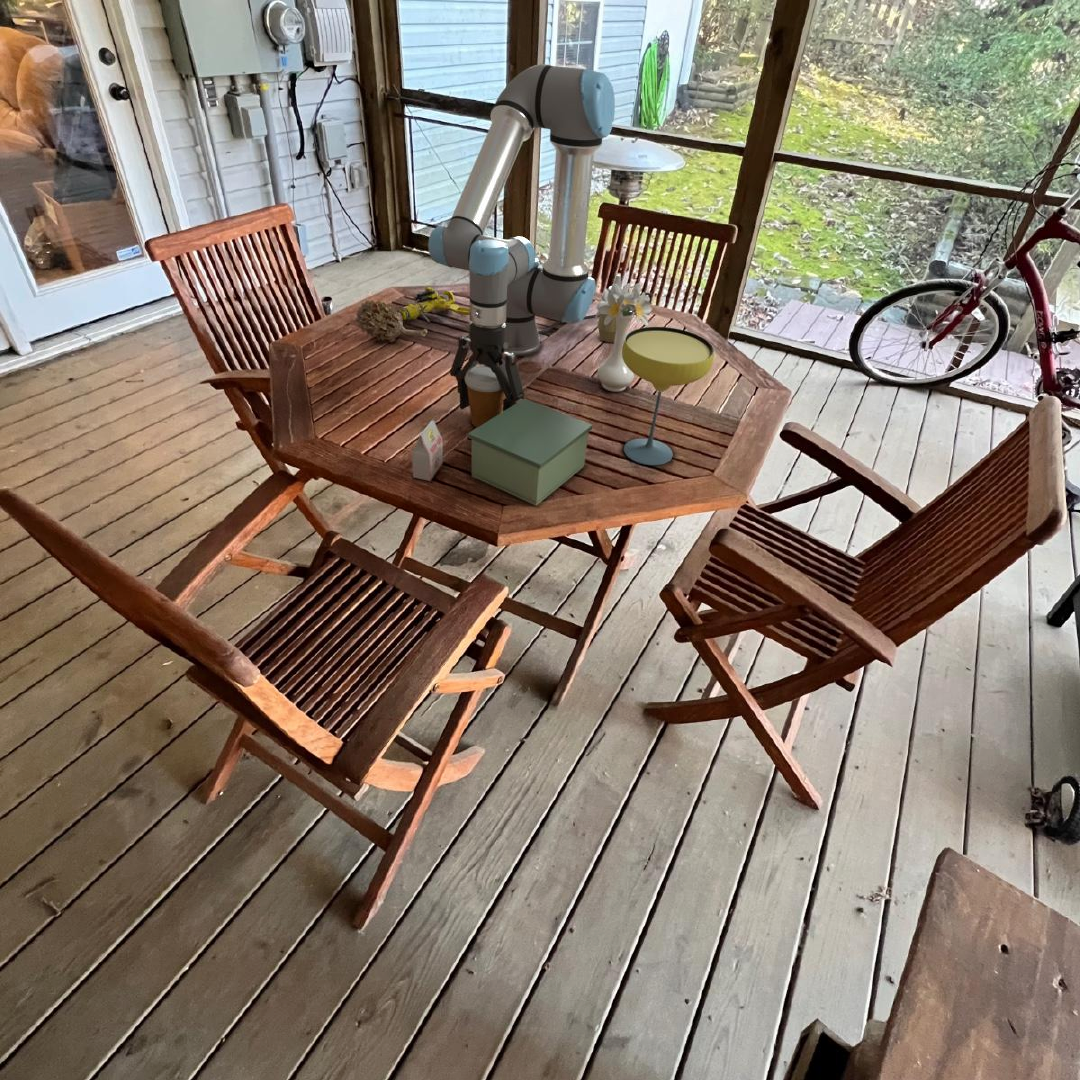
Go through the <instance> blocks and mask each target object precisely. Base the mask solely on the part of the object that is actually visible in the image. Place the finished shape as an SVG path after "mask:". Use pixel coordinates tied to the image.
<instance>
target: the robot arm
mask: <svg viewBox="0 0 1080 1080" xmlns="http://www.w3.org/2000/svg"><path fill="white" fill-rule="evenodd" d="M615 102H616V99H615V92H614V86H613V84H612V81H611V79H610V78H609V76H608V75H607V74H606V73H604V72H601V71H596V70H592V69H590V68H589V69H587V68H578V67H569V66H568V67H567V66H559V65H551V64H546V63H545V64H535V65H532V66H530V67H528V68H526V69H524V70H523V71H521V72H520V73H518V74H517V75H516V76H515V77H513V78H512V80H511V81H510V82H509V83H508V84H507V85H506V86H505V88H504V89H502V91H501V92H500V94H499V95H498V97H497V99H496V100H495V103H494V105H493V107H492V110H491V111H490V120H491V124H490V127H489V129H488V131H487V133H486V136H485V138H484V141H483V143H482V145H481V147H480V150H479V153H478V155H477V157H476V160H475V162H474V164H473V166H472V169H471V171H470V174H469V176H468V178H467V180H466V183H465V185H464V187H463V189H462V192H461V194H460V197H459V199H458V202H457V203H456V206H455V209H454V211H453V214H452V216H451V218H450V220H449V222H448V225H443V226H442V225H438V226H436V227H435V228H434V229H432V230H431V232H430V235H429V238H428V244H427V245H428V246H427V248H428V254H429V256H430V258H431V259H432V261H433V262H435V263H436V264H439V265H443V266H446V267H449V268H455V269H460V270H465V271H469V273H468V274H469V308H470V315H469V321H470V322H469V324H468V325H469V328H468V329H469V330H468V332H469V333H468V335H464V336H462V337H460V338H458V340H457V342H458V343H457V350H456V353H455V356H454V359H453V362H452V364H451V368H450V371H449V375H450V376H451V377H454V378H455V380H456V382H457V383H456V384H457V394H459V410H464V409H466V408H468V407H470V404H469V396H468V389H467V384H466V382H465V376H466V374H467V371H468V370H469V369H471V368H473V367H475V366H477V364H478V365H485V366H487V367H489V368H491V370H492V372H493V373H495V375H496V377H497V379H498V381H499V384H500V386H501V388H502V390H503V392H504V397H505V398H504V399H503V405H502V412H503V411H505V410H507V409H508V408H510V407H511V406H513V405H514V404H516V403H517V402H519V401H521V400H522V399H524V397H525V395H526V394H525V392H524V387H523V384H522V380H521V375H520V371H519V367H518V363H517V359H518V357H519V358H520V357H527V356H531V355H534V354H536V353H537V352H538V351H539V350H540V349H541V337H540V335H545V334H549V332H551V331H552V330H553V329H554V328H556V326H558V325H560V324H564V323H565V324H566V322H569V323H568V324H579V323H580V322H582V321H583V320H590V319H594V318H595V316H596V314H589V315H587V314H588V313H589V311H590V308H591V306H592V303H593V300H594V297H595V292H596V289H597V288H596V287H597V286H596V285H597V284H596V280H595V278H593V277H592V276H589V275H590V267H589V265H588V264H587V263H586V262H585V252H586V242H587V233H588V232H587V230H588V220H589V210H590V199H591V188H592V180H593V168H594V157H595V153H596V151H597V150H598V149H600V147H602V145H603V139H604V138H607V137H608V136H609V135H610V133H611V131H612V129H613V123H614V121H615V113H616V112H615V111H616V110H615V109H616V105H615V104H616V103H615ZM538 128H541V129H546V130H549V142H550V144H551V145H552V146H553V147H554V150H555V157H554V158H555V161H554V174H553V175H554V177H553V191H552V192H553V193H552V195H553V196H552V209H551V222H550V223H551V225H550V227H551V228H550V238H549V239H550V241H549V256H548V258H547V259H546V260H545V261H544V262H543V264H542V266H540V261H539V258H537V255H536V251H535V248H534V246H533V244H532V243H531V242H530V240H528V239H527V238H525V237H523V236H515V237H510V238H508V239H503V238H498V237H494V236H491V235H485V231H486V230H487V227H488V224H489V223H490V220H491V218H492V216H493V213H494V211H495V209H496V206H497V204H498V202H499V199H500V196H501V194H502V191H503V190H504V187H505V185H506V182H507V180H508V178H509V176H510V173H511V171H512V168H513V166H514V163H515V161H516V160H517V156H518V154H519V151H520V149H521V147H522V145H523V142H526V141H527V140H529V139H530V138H531V136H532V134H533V132H534V130H535V129H538ZM644 293H645V296H648V297H649V298H653V296H652V293H650V292H648V291H647V292H644ZM536 316H539V317H543V318H548V319H551V320H556V321H555V322H553V323H552V324H550V326H549V327H548V328H547V329H542V330H539V329H538V325H537V321H536ZM599 316H600V315H598V316H597V317H596V318H599ZM596 318H595V319H596ZM469 350H471V352H472V354H471V355H470V357H469V358H468V360H467V361H466V358H467V356H468V353H469ZM465 362H466V363H465Z"/></svg>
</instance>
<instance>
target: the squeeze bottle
mask: <svg viewBox="0 0 1080 1080" xmlns="http://www.w3.org/2000/svg"><path fill="white" fill-rule="evenodd" d="M613 284H617V285H618V286H619V288H620V290H622V288H623V287H624V286H623V287H622V285H623V284H622V275H621V274H616V275H615V278H614V281H613ZM611 287H612V285H611V286H608V288H607V290H608V293H610V292H611V293H612V291H611ZM602 301H604V300H602ZM621 307H622V306H621ZM620 310H621V308H620ZM607 315H610V314H600V316H599V317H598V321H597V329H598V334H599V339H600V340H602V341H604V342H606V343H614V339H615V334H616V318H615V317H614V318H613V319H612V320H611V321H610V323H609V324H608V325H604V320H605V318H606V316H607Z"/></svg>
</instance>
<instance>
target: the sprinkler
mask: <svg viewBox="0 0 1080 1080" xmlns="http://www.w3.org/2000/svg"><path fill="white" fill-rule="evenodd" d="M438 293H439V292H438V291H437V290H435V289H434V287H431V286H427V287H425V288H424V291H421V292H419V293H417V294H416V297H415V299H414V300H412V301H409V302H408V301H407V300H406V298H405V296H404V295H402V298H403V300H404V301H405V303H406V305H407V306H404V307H402V309H400V310H399V313H400V314H401V315H402V316H403V320H402V321H411V320H413V321H415V320H417V319H418V317H420V316H423V318H424V319H425V320H426V321H427V322H428V323H430V322H431V321H430V319H428V318H427V317H426V315H425V314H427V313H428V314H429V312H432V310H438V311H442V312H450V311H452V312H454V313H455V314H457V315H461V316H466V317H467V316H470V307H464V306H460V305H457V304H455V301H456V300H455V296H454V294H453V292H451V291H448V290H444V291H443V293H442V295H440V296H439V294H438Z"/></svg>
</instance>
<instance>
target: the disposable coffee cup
mask: <svg viewBox="0 0 1080 1080" xmlns="http://www.w3.org/2000/svg"><path fill="white" fill-rule="evenodd" d="M465 382H466V384H467V389H468V396H469V404H470V405H469V410H470V411H469V412H470V419H471V424H472V425H473V426H474V427H476V428H478V427H479V426H481V425H483V424H484V423H486V422H487V421H489V420H491V419H492V418H494V417H495V416H497V415H499V414H500V413H502V412H503V400H504V399H505V394H504V392H503V390H502V388H501V386H500V384H499V381H498V379H497V377H496V375H495V373H493V372H492V370H491V368H489V367H487V366H485V365H483V364H478V365H476V366H475V367H473V368H471V369H469V370H468V371H467V374H466V376H465Z"/></svg>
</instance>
